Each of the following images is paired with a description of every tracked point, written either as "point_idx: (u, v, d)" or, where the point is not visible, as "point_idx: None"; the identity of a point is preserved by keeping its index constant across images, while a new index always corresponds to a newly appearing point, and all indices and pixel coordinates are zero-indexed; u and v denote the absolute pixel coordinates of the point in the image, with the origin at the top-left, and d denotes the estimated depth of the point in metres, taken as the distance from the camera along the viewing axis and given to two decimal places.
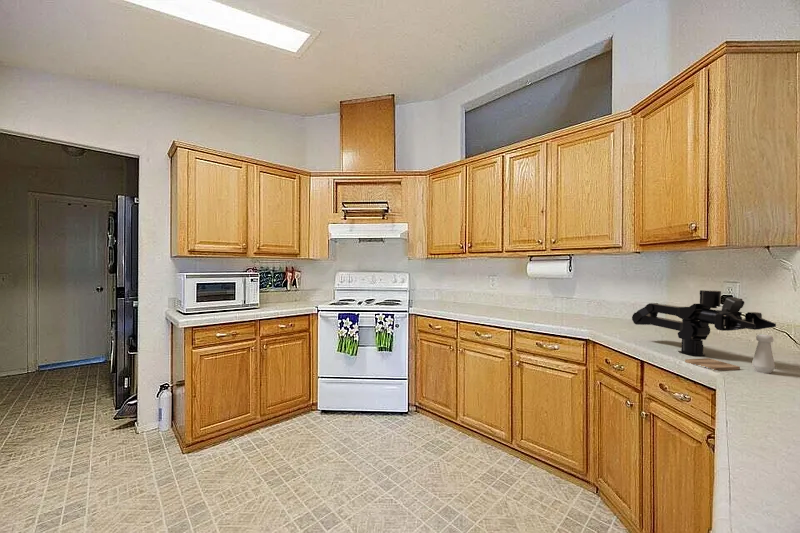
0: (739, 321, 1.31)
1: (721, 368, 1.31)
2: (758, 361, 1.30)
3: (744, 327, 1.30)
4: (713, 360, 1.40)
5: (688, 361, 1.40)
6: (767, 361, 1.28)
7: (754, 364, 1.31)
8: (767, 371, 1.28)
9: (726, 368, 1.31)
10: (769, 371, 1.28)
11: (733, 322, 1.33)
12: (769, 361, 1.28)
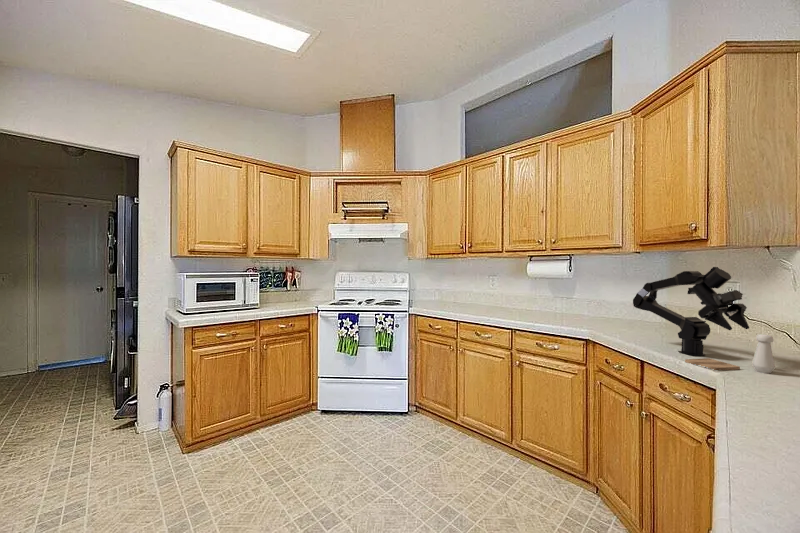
0: (722, 319, 1.38)
1: (721, 368, 1.31)
2: (758, 361, 1.30)
3: (721, 325, 1.38)
4: (713, 360, 1.40)
5: (688, 361, 1.40)
6: (767, 361, 1.28)
7: (754, 364, 1.31)
8: (767, 371, 1.28)
9: (726, 368, 1.31)
10: (769, 371, 1.28)
11: (716, 316, 1.39)
12: (769, 361, 1.28)
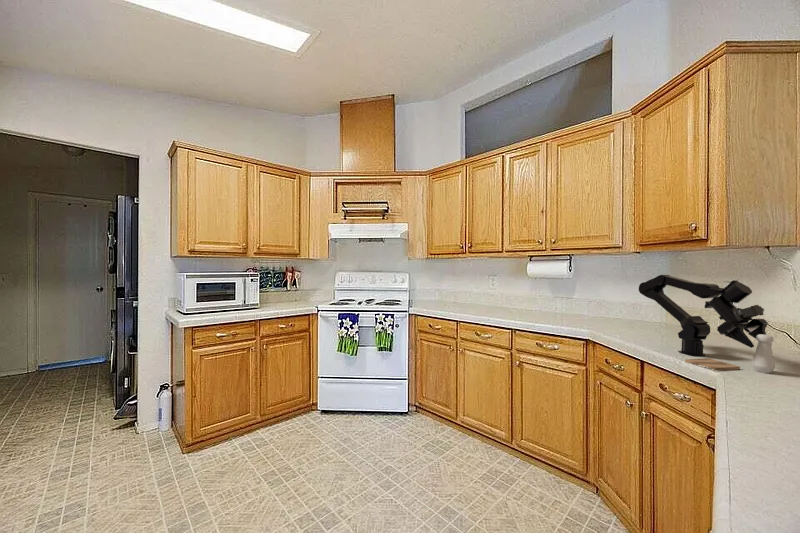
0: (743, 336, 1.31)
1: (721, 368, 1.31)
2: (758, 361, 1.30)
3: (742, 342, 1.32)
4: (713, 360, 1.40)
5: (688, 361, 1.40)
6: (767, 361, 1.28)
7: (754, 364, 1.31)
8: (767, 371, 1.28)
9: (726, 368, 1.31)
10: (769, 371, 1.28)
11: (737, 332, 1.33)
12: (769, 361, 1.28)
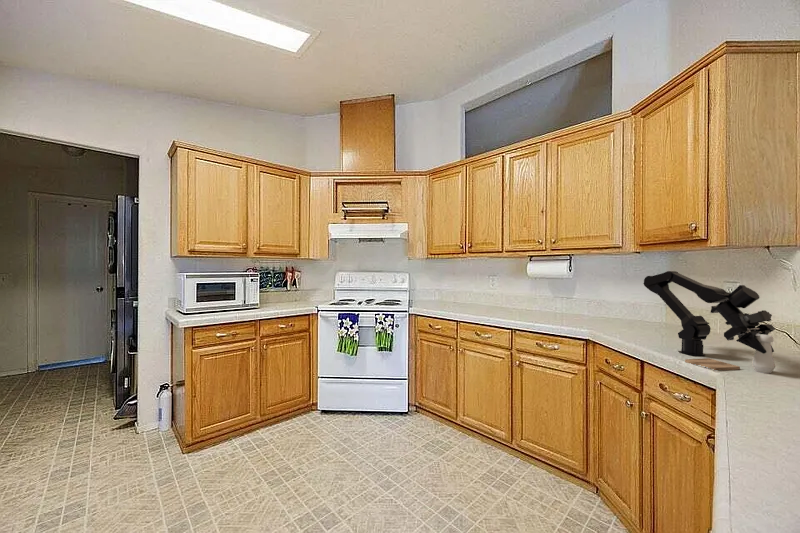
0: (755, 341, 1.30)
1: (721, 368, 1.31)
2: (758, 361, 1.30)
3: (754, 348, 1.30)
4: (713, 360, 1.40)
5: (688, 361, 1.40)
6: (767, 361, 1.28)
7: (754, 364, 1.31)
8: (767, 371, 1.28)
9: (726, 368, 1.31)
10: (769, 371, 1.28)
11: (749, 338, 1.32)
12: (769, 361, 1.28)
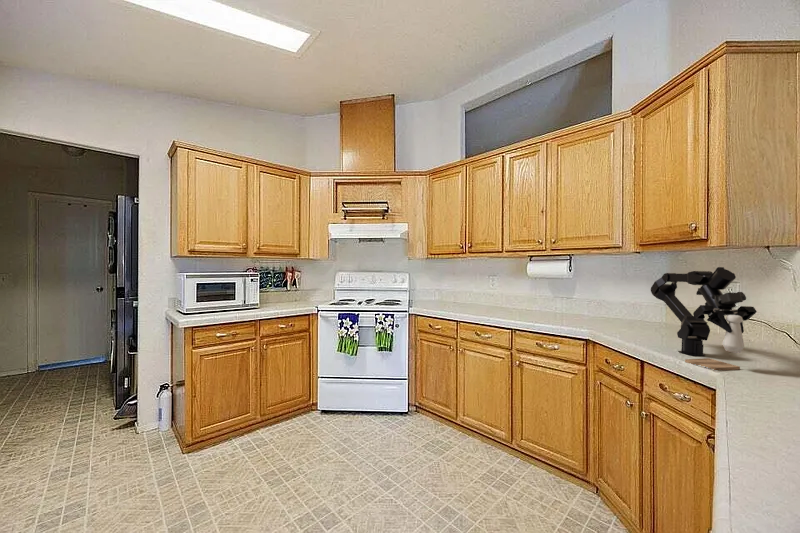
0: (722, 321, 1.34)
1: (721, 368, 1.31)
2: (725, 340, 1.33)
3: (722, 327, 1.34)
4: (713, 360, 1.40)
5: (688, 361, 1.40)
6: (733, 340, 1.31)
7: (723, 343, 1.35)
8: (733, 350, 1.32)
9: (726, 368, 1.31)
10: (735, 350, 1.31)
11: (719, 318, 1.36)
12: (735, 340, 1.31)
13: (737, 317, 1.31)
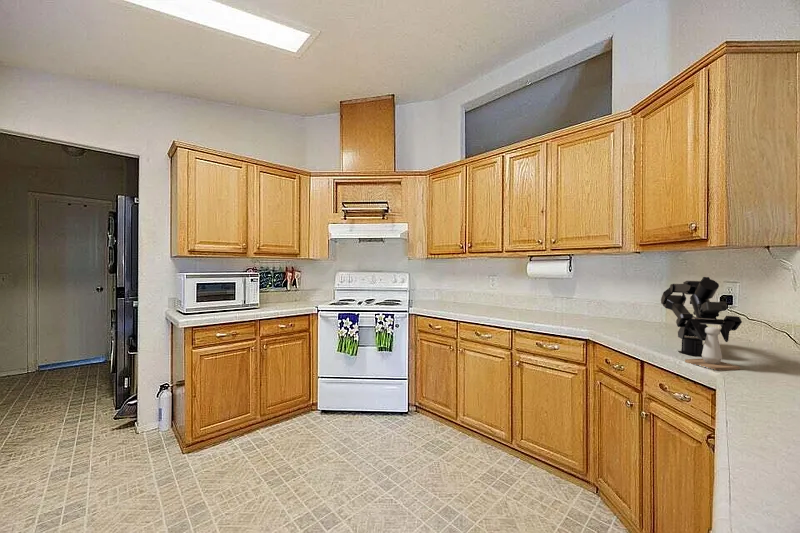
0: (695, 329, 1.39)
1: (721, 368, 1.31)
2: (703, 351, 1.38)
3: (696, 335, 1.39)
4: None
5: (688, 361, 1.40)
6: (709, 351, 1.36)
7: (702, 354, 1.39)
8: (710, 361, 1.36)
9: (726, 368, 1.31)
10: (712, 361, 1.35)
11: (694, 326, 1.41)
12: (711, 352, 1.35)
13: (713, 329, 1.35)
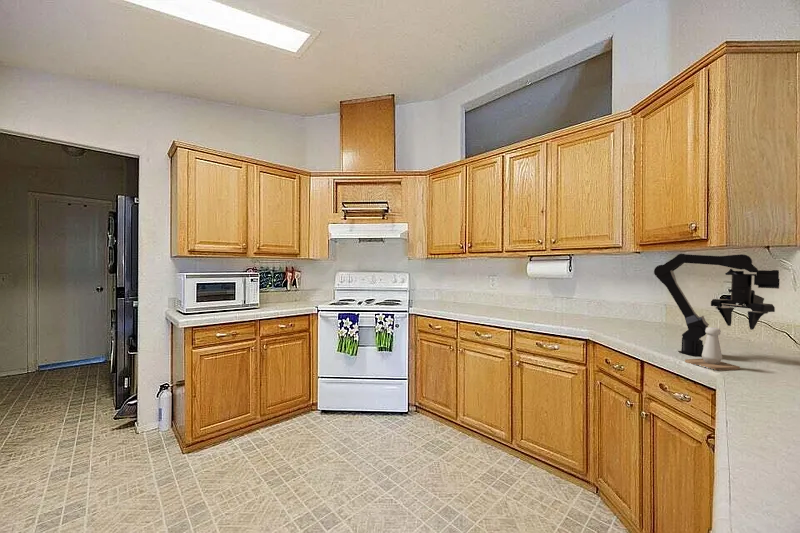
0: (757, 319, 1.38)
1: (721, 368, 1.31)
2: (703, 351, 1.38)
3: (752, 323, 1.38)
4: None
5: (688, 361, 1.40)
6: (709, 352, 1.35)
7: (702, 354, 1.39)
8: (710, 361, 1.36)
9: (726, 368, 1.31)
10: (712, 362, 1.35)
11: (755, 314, 1.38)
12: (711, 352, 1.35)
13: (714, 329, 1.35)
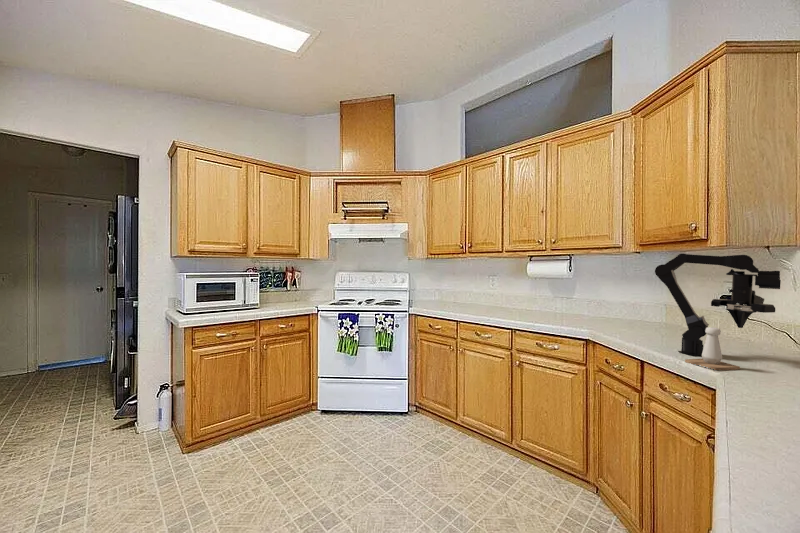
0: (746, 318, 1.42)
1: (721, 368, 1.31)
2: (703, 351, 1.38)
3: (741, 321, 1.42)
4: None
5: (688, 361, 1.40)
6: (709, 352, 1.35)
7: (702, 354, 1.39)
8: (710, 361, 1.36)
9: (726, 368, 1.31)
10: (712, 362, 1.35)
11: (744, 313, 1.42)
12: (711, 352, 1.35)
13: (714, 329, 1.35)
